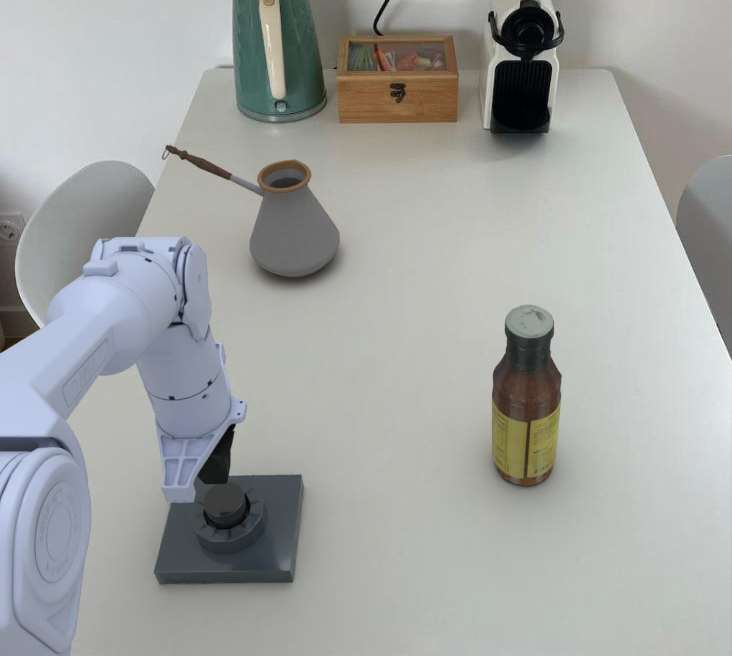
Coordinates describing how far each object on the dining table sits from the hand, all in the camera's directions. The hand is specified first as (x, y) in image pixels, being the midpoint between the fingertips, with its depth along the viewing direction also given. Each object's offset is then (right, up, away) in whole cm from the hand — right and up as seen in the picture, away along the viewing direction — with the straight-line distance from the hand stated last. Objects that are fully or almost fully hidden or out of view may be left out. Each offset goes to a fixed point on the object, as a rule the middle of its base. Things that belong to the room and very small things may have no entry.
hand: (216, 477), depth 70 cm
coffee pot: (-2, +21, +36) cm, 42 cm away
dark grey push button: (0, -4, +4) cm, 5 cm away
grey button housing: (0, -7, +6) cm, 9 cm away
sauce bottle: (+28, -1, +11) cm, 30 cm away
